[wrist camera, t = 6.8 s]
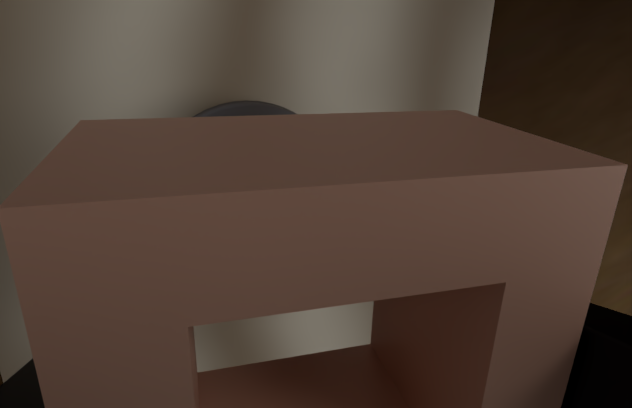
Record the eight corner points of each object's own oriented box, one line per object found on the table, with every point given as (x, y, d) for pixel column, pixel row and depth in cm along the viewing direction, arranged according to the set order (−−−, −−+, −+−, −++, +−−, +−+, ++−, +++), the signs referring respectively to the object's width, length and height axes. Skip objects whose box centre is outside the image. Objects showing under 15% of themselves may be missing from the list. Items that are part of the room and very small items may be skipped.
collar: (457, 109, 9) (627, 165, 6) (421, 382, 12) (524, 537, 8) (80, 120, 8) (-3, 208, 4) (131, 439, 10) (107, 666, 7)
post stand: (468, -62, 16) (638, -110, 10) (419, 330, 22) (509, 443, 16) (-91, -108, 12) (-354, -235, 6) (34, 393, 17) (-37, 579, 12)
